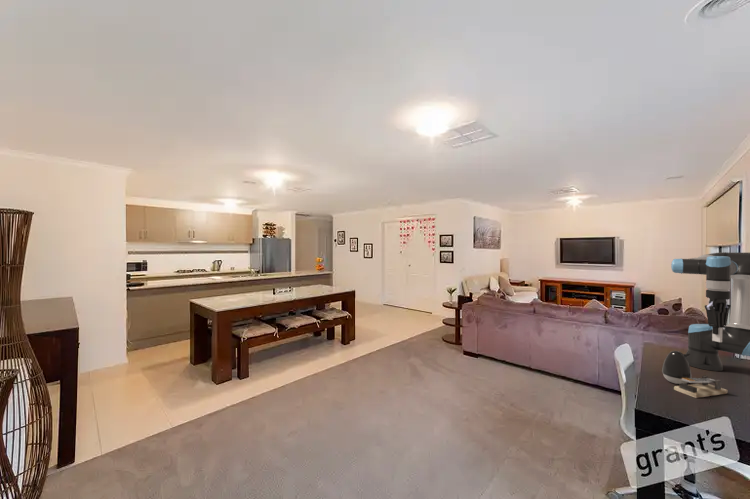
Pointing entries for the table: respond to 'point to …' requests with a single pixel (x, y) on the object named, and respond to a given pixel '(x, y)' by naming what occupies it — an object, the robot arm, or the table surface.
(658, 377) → the table surface
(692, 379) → the grey flat bar
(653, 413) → the table surface
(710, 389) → the mount
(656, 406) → the table surface
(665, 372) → the dark grey egg shape
